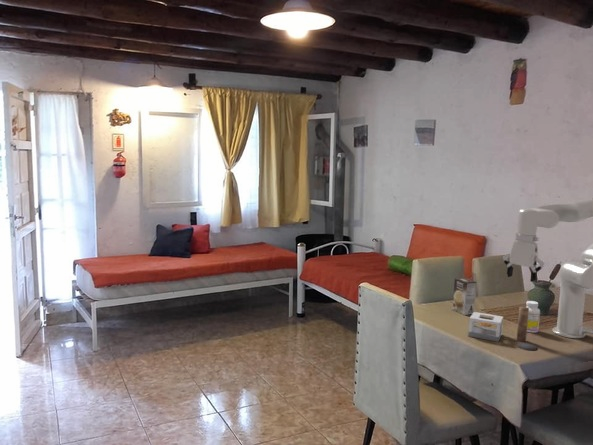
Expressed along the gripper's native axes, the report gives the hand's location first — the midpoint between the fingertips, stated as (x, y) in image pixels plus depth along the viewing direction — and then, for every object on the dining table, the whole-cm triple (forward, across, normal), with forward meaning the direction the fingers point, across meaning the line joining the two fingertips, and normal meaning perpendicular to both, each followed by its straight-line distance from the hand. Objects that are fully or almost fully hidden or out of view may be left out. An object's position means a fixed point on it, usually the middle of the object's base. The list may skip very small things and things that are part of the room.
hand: (521, 278), depth 218 cm
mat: (+25, -9, +9) cm, 28 cm away
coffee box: (+25, +32, -14) cm, 43 cm away
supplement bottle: (+25, -1, -12) cm, 28 cm away
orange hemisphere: (+21, +8, +10) cm, 24 cm away
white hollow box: (+25, +8, +10) cm, 28 cm away
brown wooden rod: (+25, -4, +4) cm, 26 cm away
